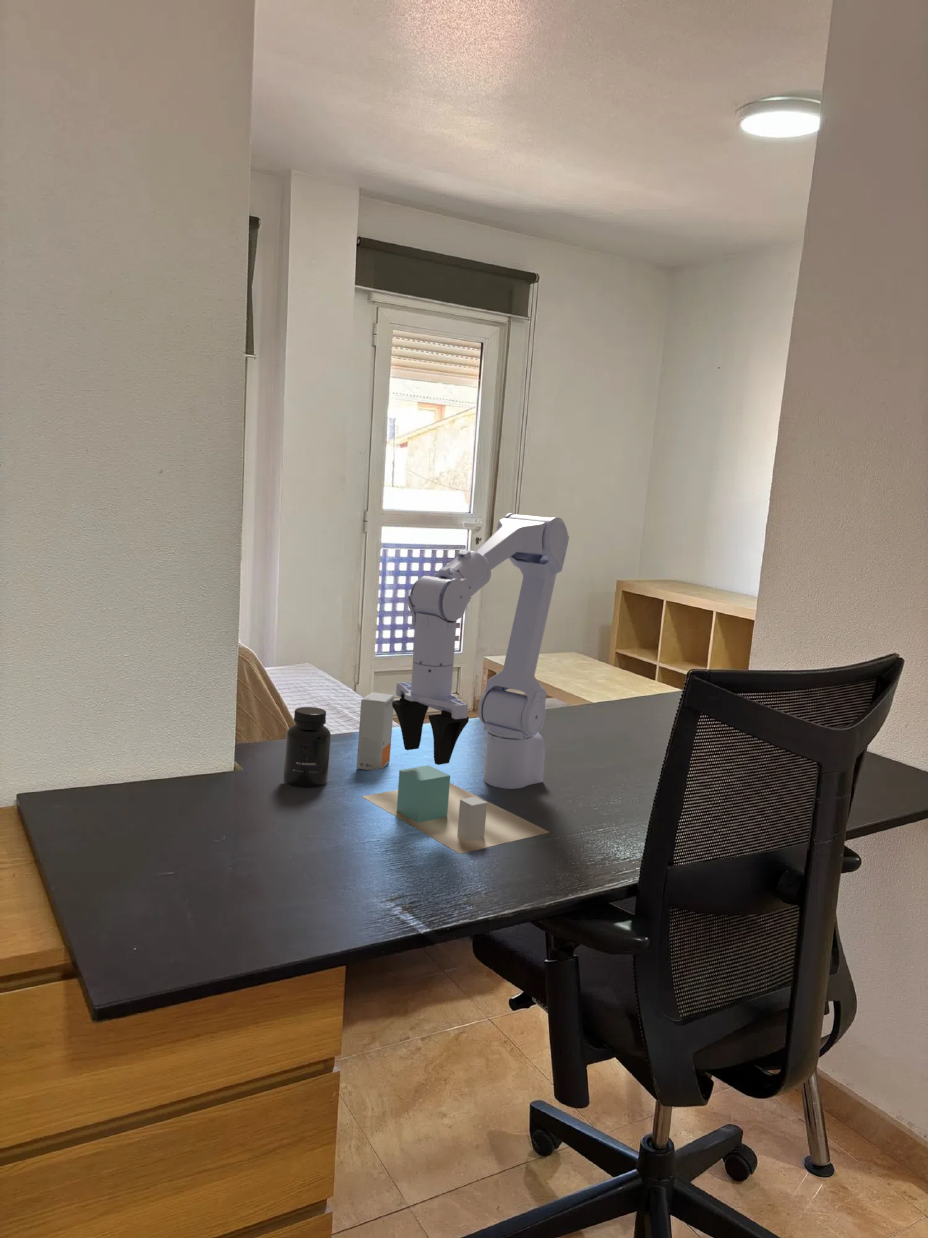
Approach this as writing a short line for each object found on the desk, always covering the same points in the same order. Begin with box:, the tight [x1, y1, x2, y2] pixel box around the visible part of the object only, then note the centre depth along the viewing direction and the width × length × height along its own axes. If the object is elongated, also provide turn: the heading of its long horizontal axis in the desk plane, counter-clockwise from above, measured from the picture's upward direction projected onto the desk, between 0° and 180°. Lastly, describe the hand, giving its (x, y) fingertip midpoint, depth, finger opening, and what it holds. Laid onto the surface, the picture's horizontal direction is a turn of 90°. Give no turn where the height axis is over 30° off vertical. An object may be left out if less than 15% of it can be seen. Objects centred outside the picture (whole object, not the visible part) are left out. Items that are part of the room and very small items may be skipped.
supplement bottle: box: [283, 706, 332, 789], centre depth 140 cm, size 7×7×12 cm
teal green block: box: [397, 764, 451, 823], centre depth 130 cm, size 5×5×6 cm
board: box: [361, 782, 550, 855], centre depth 132 cm, size 16×24×1 cm, turn 38°
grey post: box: [457, 797, 487, 841], centre depth 123 cm, size 3×3×5 cm
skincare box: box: [356, 691, 395, 771], centre depth 153 cm, size 6×4×12 cm
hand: (426, 756), depth 129 cm, fingers open, 7 cm apart
